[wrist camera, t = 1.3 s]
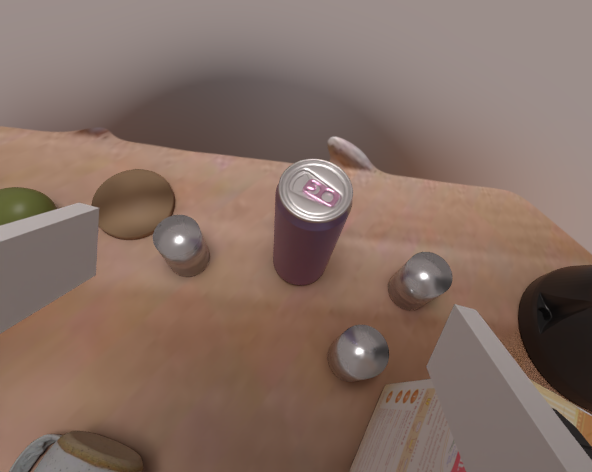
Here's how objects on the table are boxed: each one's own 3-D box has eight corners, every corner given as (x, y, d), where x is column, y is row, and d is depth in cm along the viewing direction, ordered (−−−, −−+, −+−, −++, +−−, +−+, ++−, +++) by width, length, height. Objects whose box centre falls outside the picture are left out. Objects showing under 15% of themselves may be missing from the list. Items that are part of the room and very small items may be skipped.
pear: (19, 225, 32) (-76, 230, 33) (59, 246, 37) (-24, 250, 38) (38, 176, 35) (-51, 182, 35) (73, 202, 39) (-6, 207, 40)
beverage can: (308, 297, 37) (331, 238, 23) (262, 268, 38) (259, 197, 25) (334, 255, 39) (369, 179, 26) (291, 229, 40) (302, 144, 27)
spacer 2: (434, 299, 38) (461, 282, 33) (402, 317, 37) (426, 303, 31) (410, 266, 40) (433, 245, 34) (380, 282, 38) (398, 263, 33)
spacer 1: (215, 266, 38) (207, 244, 32) (177, 283, 37) (161, 263, 31) (201, 234, 39) (190, 208, 34) (163, 250, 38) (146, 225, 33)
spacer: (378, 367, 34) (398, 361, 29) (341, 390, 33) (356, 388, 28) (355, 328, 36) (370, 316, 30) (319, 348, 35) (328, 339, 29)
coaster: (186, 220, 40) (184, 216, 39) (107, 252, 37) (103, 248, 37) (160, 164, 43) (158, 159, 42) (86, 190, 41) (82, 185, 40)
